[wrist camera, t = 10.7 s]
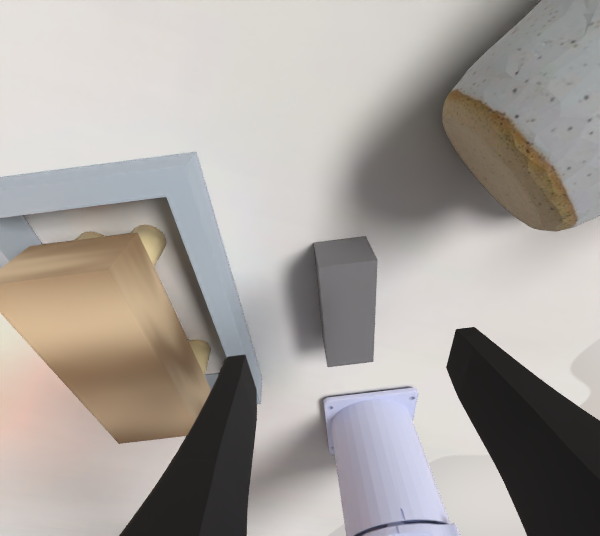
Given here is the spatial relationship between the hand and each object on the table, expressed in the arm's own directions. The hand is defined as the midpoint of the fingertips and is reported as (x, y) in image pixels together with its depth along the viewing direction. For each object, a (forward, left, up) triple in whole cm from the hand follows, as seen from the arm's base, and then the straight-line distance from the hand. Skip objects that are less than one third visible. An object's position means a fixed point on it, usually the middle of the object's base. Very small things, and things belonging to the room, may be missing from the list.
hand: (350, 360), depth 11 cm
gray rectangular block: (-4, -1, -8) cm, 9 cm away
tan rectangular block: (-3, +11, -6) cm, 13 cm away
